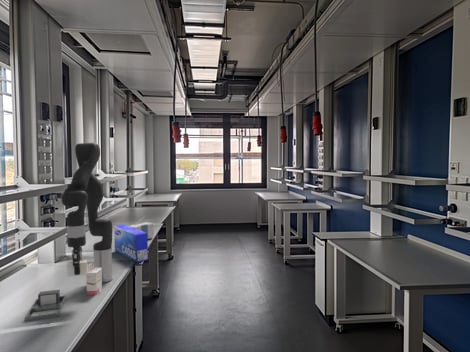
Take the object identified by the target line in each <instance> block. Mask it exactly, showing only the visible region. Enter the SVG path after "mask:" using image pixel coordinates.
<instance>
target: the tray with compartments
mask: <svg viewBox="0 0 470 352" xmlns="http://www.w3.org/2000/svg"><path fill="white" fill-rule="evenodd" d="M66 300H67V295H60V303H57V304H48V305H40V306H38V298H36V299H35V300H34V302H33V304H32V306H31V307H30V308H29V310H28V311H27V314H25V317H24V322H30V321H39V320H47V319H54V318H59V317H60V315H61V312H62V310H63V308H64V305H65V302H66Z"/></svg>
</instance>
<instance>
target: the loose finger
mask: <svg viewBox="0 0 470 352" xmlns="http://www.w3.org/2000/svg"><path fill="white" fill-rule="evenodd" d="M75 263H78V262H75ZM88 265H89V264H88V259H85V260H83V259H82V261H80V274H79V275H75V274H74V266H73V261H68V262H67V263H66V270H67V277H76V276H84V275H85V276H86V275H87V273H88Z"/></svg>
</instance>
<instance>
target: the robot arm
mask: <svg viewBox="0 0 470 352" xmlns="http://www.w3.org/2000/svg"><path fill="white" fill-rule="evenodd" d="M74 147H75V148H74V152H75V158H76V162H77V165H78V168H77V170H75V172H74V173H73V175H72V179H71V181H70V183H69V185H67V187H66V189H65V190H64V191H63V194H62V196H61V204H62V205H63V206H65V207H67V208H69V207H70V208H72V207H78V208H77V210H75V211H69V212H68V214H67V215H66V220H67V221H66V223H67V224H66V225H67V227H66V238H67V239H66V240H67V241H66V242H67V247H68V248H73V249H72V251H71V257H72V261H73V266H74V274H75V275H78V276H80V275H79V274H80V261H82V260H83V248H82V247H84V246H86V244H87V237H86V235H87V234H86V226H85V224H86V223H85V212H86V209H87V221H88V230H89V233H90V235H91V236H93V237H102V238H101V240H100V241H97V242H96V243H94V244H93V247H92V248H93V268H102V283H107V282H111V281H112V280H113V256H112V255H113V253H112V251H113V249H112V245H113V244H112V243H113V222H112V220H110V219H108V218H107V219H106V218H100V219H99V216H98V213H99V212H98V211H99V208H100V206H101V204H102V202H103V199H104V190H103V185H102V182H101V181H100V179H99V178H98V177H97V176H96V175H95V174H94V173H93V171H94V170H95V168H96V165H97V164H98V162H99V159H100V157H101V148H100V145H99V144H98V143H96V142H83V143H76V145H75V146H74ZM75 262H78V263H75Z"/></svg>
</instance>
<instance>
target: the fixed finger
mask: <svg viewBox="0 0 470 352" xmlns="http://www.w3.org/2000/svg"><path fill="white" fill-rule="evenodd" d="M60 296H61V289H55V290H47V291H39V292H38V294H37V299H38V306H40V305H48V304H57V303H60Z"/></svg>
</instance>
